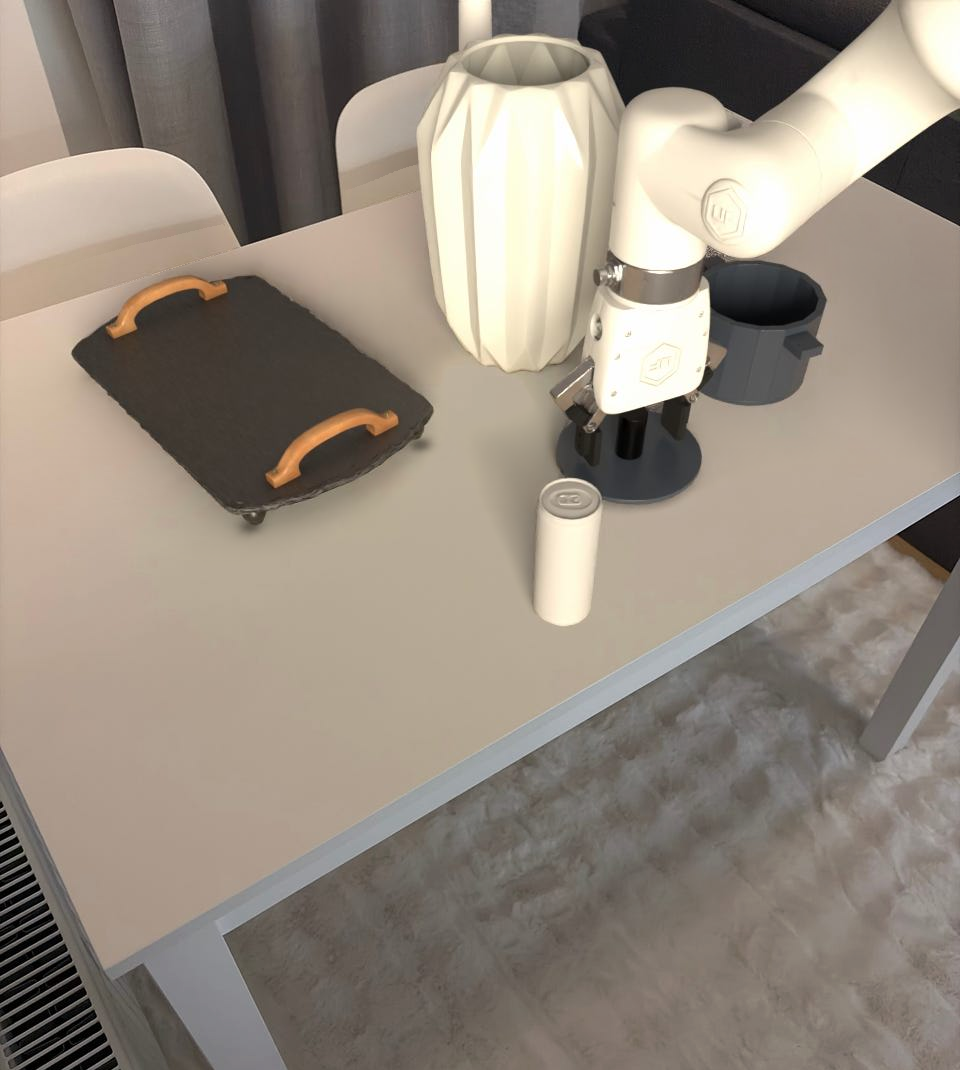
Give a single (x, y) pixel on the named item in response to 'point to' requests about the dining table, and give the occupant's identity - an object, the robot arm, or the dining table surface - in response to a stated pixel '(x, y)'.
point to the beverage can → (566, 550)
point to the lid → (633, 459)
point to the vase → (519, 193)
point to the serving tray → (250, 391)
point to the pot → (761, 329)
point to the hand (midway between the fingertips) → (630, 444)
